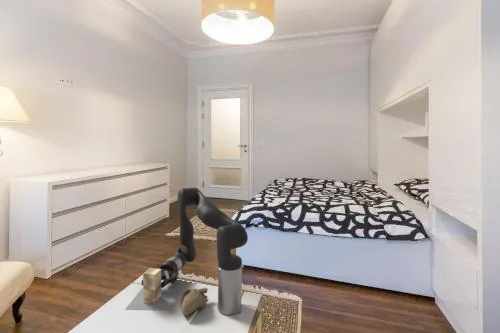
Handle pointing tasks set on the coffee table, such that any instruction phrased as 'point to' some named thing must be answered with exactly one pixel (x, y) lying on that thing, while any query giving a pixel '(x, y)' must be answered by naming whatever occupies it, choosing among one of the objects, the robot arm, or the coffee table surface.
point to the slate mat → (163, 303)
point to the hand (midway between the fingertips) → (152, 284)
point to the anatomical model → (193, 300)
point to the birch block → (151, 285)
